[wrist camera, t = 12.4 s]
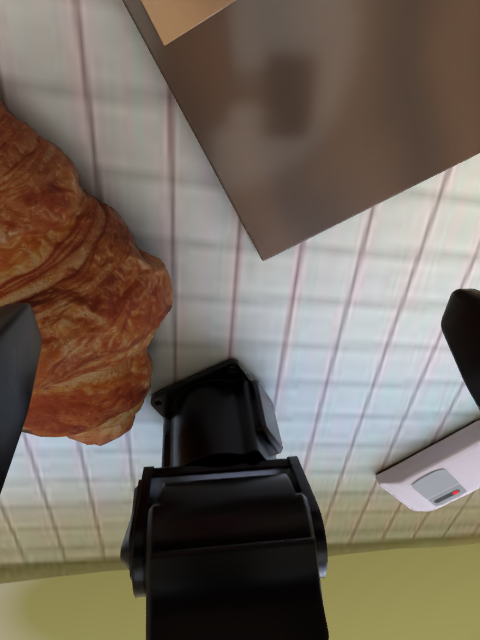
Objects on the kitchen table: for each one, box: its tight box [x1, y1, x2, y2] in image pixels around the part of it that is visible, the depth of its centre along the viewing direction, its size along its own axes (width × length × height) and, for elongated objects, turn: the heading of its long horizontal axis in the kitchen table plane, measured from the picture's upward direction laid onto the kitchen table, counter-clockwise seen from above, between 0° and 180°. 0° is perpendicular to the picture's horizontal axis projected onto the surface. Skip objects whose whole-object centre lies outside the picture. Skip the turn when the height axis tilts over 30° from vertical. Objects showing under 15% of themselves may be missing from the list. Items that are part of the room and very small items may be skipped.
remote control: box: [374, 420, 480, 511], centre depth 35 cm, size 7×16×3 cm, turn 131°
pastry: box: [0, 100, 172, 446], centre depth 19 cm, size 17×15×8 cm
